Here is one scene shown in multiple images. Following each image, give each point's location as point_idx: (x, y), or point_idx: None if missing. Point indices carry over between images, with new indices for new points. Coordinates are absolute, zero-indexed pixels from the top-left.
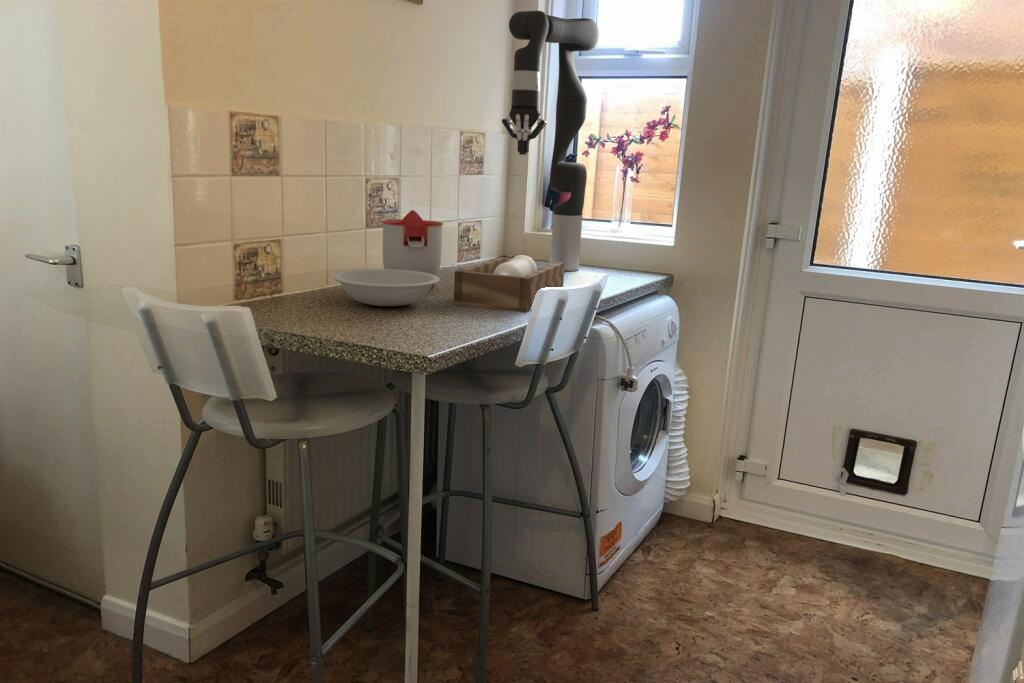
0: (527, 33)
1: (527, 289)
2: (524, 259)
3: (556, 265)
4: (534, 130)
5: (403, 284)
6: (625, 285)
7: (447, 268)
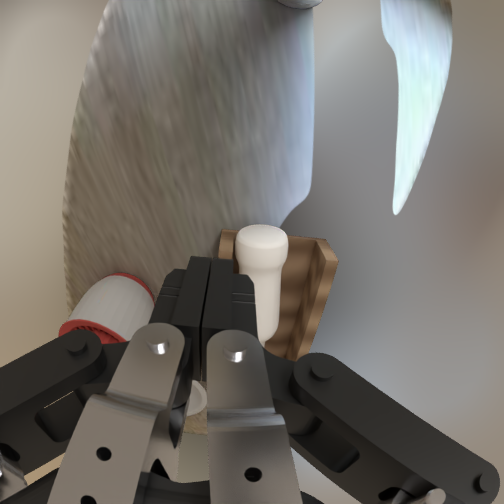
0: None
1: None
2: (270, 273)
3: (325, 295)
4: (332, 469)
5: (192, 412)
6: (414, 134)
7: (89, 99)
